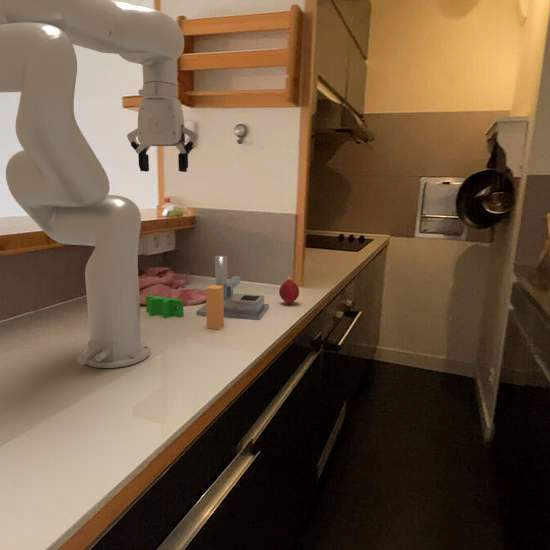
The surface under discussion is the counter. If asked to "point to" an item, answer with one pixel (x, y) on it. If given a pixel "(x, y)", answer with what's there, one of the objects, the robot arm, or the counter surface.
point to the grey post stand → (235, 296)
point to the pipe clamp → (164, 306)
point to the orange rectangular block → (215, 307)
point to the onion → (289, 291)
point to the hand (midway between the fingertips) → (163, 171)
